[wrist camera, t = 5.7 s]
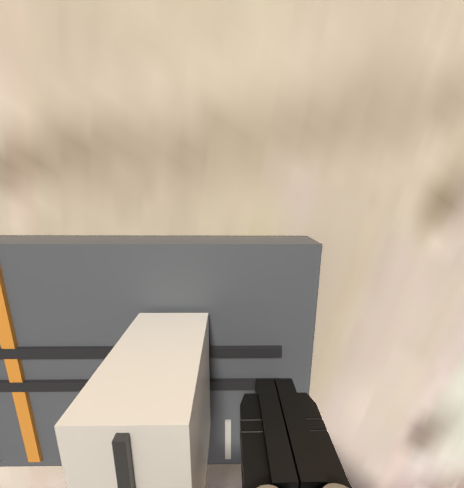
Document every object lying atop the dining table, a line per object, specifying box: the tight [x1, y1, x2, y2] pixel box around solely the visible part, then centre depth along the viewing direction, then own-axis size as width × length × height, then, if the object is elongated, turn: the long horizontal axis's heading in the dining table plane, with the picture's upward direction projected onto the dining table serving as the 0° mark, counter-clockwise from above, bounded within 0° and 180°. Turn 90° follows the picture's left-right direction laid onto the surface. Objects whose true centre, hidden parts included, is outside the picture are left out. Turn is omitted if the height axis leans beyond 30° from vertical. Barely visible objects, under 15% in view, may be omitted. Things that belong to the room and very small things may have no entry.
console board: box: [0, 235, 322, 466], centre depth 12 cm, size 20×12×2 cm, turn 90°
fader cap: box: [54, 313, 211, 488], centre depth 8 cm, size 3×6×5 cm, turn 0°
